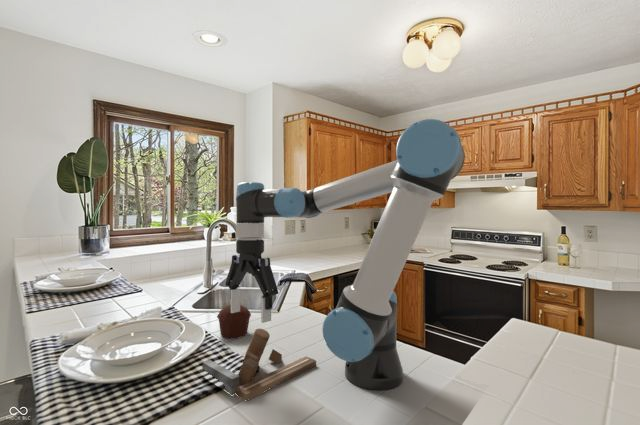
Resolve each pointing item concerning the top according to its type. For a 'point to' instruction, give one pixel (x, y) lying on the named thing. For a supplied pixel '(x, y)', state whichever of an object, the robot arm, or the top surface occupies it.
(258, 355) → the wooden block set
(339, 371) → the top surface
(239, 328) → the muffin
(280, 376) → the board
